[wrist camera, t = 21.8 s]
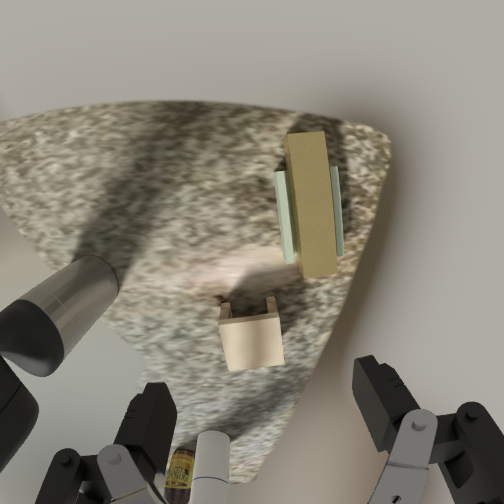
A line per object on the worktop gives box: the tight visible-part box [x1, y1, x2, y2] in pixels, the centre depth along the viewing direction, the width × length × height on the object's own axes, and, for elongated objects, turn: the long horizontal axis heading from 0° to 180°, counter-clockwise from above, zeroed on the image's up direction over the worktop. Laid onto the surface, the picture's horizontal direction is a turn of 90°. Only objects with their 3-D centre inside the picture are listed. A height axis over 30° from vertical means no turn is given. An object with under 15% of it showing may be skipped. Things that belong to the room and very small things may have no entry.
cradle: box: [273, 166, 344, 264], centre depth 37 cm, size 8×12×4 cm, turn 8°
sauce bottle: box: [164, 450, 195, 504], centre depth 44 cm, size 6×6×20 cm
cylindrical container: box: [190, 430, 230, 504], centre depth 40 cm, size 7×7×25 cm
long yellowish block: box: [282, 131, 337, 279], centre depth 36 cm, size 4×18×4 cm, turn 8°
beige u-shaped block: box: [218, 296, 284, 371], centre depth 40 cm, size 8×8×7 cm
